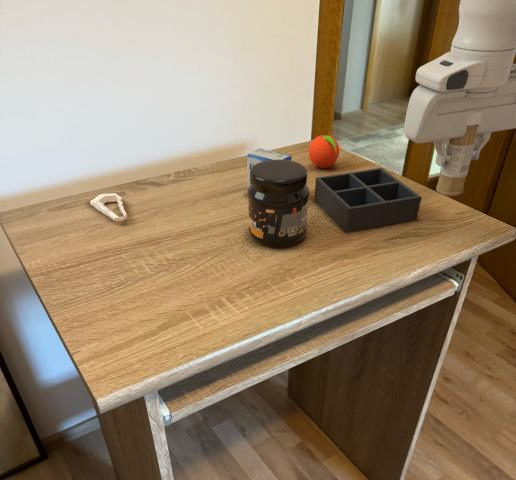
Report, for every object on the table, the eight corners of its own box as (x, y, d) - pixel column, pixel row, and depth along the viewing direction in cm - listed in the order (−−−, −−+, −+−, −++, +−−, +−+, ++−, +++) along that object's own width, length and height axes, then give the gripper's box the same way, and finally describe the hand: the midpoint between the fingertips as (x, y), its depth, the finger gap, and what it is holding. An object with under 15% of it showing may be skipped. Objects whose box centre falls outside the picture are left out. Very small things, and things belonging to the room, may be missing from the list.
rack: (378, 189, 102) (381, 167, 99) (416, 219, 92) (421, 196, 89) (314, 199, 99) (315, 177, 96) (346, 232, 89) (349, 209, 85)
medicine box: (247, 195, 101) (245, 153, 95) (259, 188, 104) (258, 146, 98) (278, 204, 97) (279, 161, 92) (290, 196, 100) (292, 154, 94)
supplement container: (242, 225, 91) (240, 161, 83) (296, 218, 93) (299, 155, 85) (256, 253, 83) (255, 186, 75) (314, 245, 85) (319, 178, 77)
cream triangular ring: (141, 219, 93) (139, 210, 92) (117, 226, 91) (115, 218, 90) (111, 196, 101) (110, 188, 100) (89, 203, 99) (87, 195, 98)
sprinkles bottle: (451, 184, 86) (471, 102, 77) (468, 194, 83) (490, 110, 74) (429, 188, 85) (446, 106, 76) (445, 199, 82) (465, 114, 73)
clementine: (346, 170, 110) (350, 138, 105) (321, 176, 108) (324, 143, 103) (326, 159, 115) (328, 127, 111) (301, 165, 113) (303, 133, 108)
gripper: (521, 56, 76) (496, 147, 85) (406, 70, 72) (392, 164, 81) (552, 65, 71) (521, 159, 81) (431, 80, 67) (413, 178, 76)
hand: (456, 162), depth 81 cm, fingers closed on sprinkles bottle, 4 cm apart
